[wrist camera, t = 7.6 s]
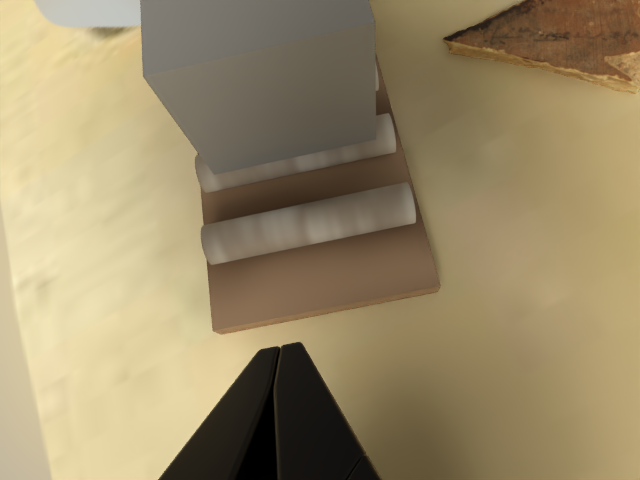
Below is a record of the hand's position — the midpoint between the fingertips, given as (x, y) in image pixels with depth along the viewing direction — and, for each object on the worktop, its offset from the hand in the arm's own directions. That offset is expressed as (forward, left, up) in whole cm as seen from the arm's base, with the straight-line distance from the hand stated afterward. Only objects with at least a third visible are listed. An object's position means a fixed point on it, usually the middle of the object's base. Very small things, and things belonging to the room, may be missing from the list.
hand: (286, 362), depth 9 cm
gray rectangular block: (+13, +9, -10) cm, 18 cm away
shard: (+22, -4, -14) cm, 26 cm away
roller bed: (+11, +8, -13) cm, 19 cm away
